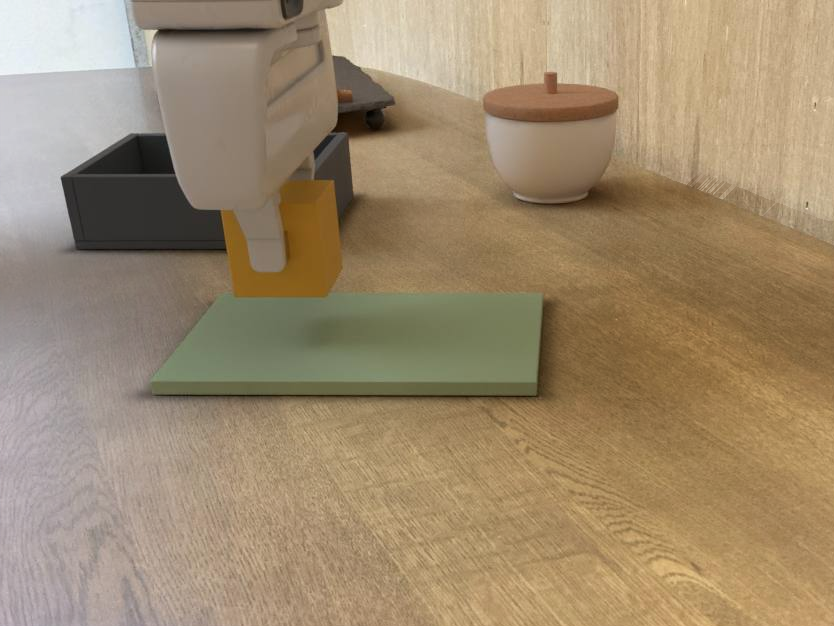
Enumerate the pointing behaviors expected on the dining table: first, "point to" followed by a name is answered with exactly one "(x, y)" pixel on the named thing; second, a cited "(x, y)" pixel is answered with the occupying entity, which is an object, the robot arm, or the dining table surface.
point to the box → (163, 196)
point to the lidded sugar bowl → (550, 138)
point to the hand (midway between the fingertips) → (285, 250)
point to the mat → (360, 346)
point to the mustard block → (292, 245)
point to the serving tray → (360, 93)
